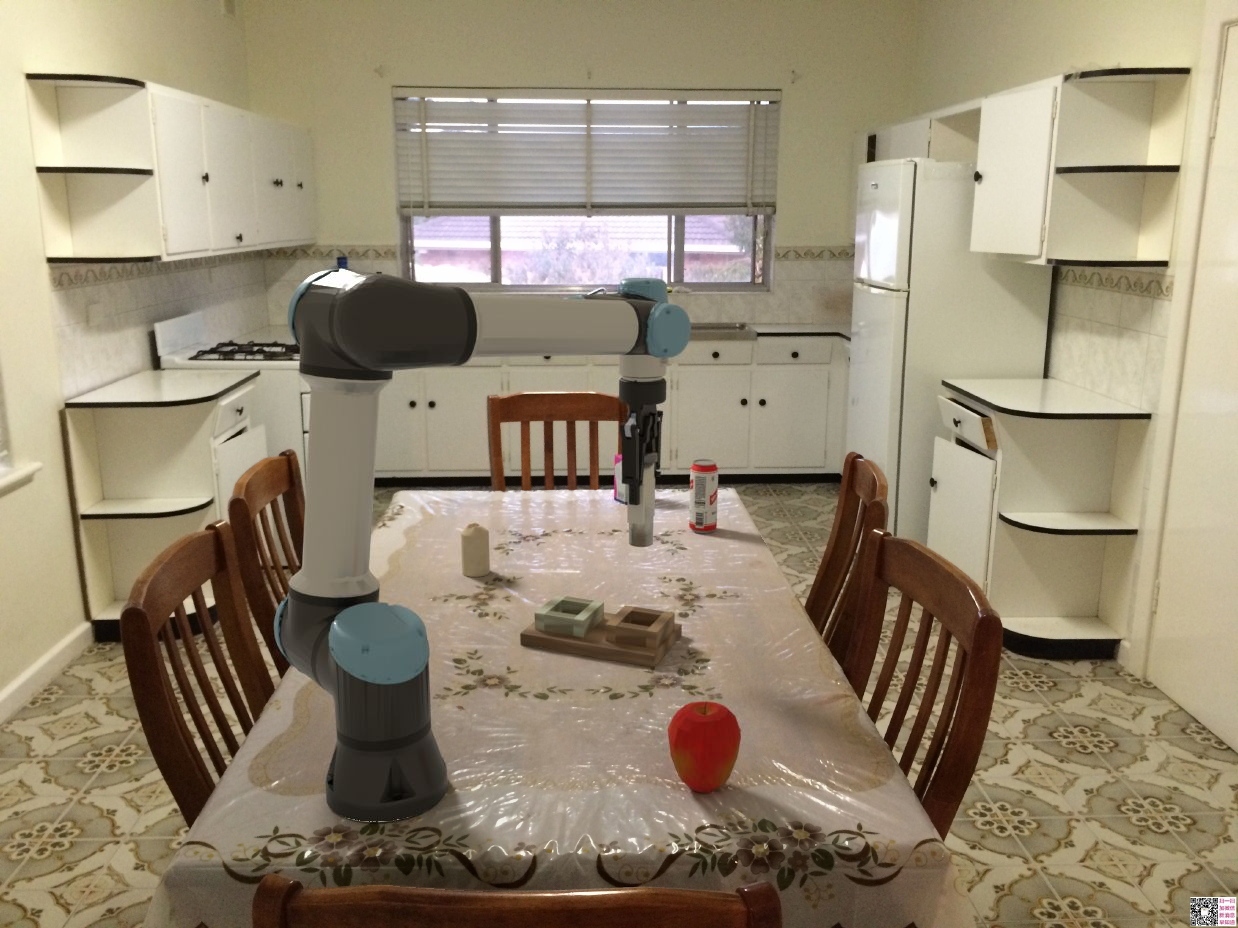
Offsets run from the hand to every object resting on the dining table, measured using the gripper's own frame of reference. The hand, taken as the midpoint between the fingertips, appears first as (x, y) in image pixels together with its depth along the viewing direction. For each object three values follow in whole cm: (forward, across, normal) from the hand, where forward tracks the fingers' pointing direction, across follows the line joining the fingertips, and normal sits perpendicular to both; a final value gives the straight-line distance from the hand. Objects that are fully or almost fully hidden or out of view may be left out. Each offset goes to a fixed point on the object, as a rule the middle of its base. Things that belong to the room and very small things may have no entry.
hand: (641, 518), depth 173 cm
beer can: (+23, +66, +9) cm, 70 cm away
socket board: (+22, 0, +7) cm, 23 cm away
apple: (+23, -38, -23) cm, 50 cm away
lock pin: (+4, 0, 0) cm, 4 cm away
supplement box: (+23, +82, +34) cm, 91 cm away
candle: (+23, +21, +43) cm, 53 cm away
